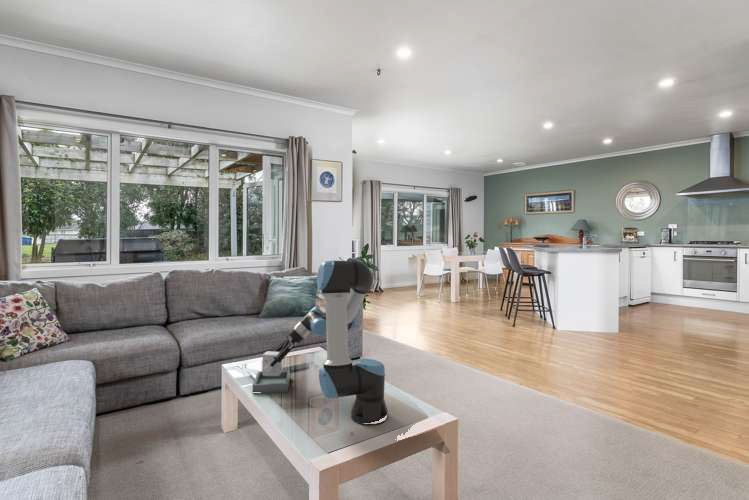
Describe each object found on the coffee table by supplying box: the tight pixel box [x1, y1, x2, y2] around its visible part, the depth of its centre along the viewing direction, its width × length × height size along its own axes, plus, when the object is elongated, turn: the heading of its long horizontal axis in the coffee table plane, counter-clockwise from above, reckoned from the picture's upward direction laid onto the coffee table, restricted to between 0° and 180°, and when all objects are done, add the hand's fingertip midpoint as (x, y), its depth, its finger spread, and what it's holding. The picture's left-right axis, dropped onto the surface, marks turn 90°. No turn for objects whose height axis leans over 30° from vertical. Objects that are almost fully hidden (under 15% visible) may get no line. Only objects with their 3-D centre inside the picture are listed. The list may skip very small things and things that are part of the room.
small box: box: [262, 350, 283, 376], centre depth 193 cm, size 8×6×10 cm
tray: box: [252, 370, 291, 394], centre depth 193 cm, size 18×16×4 cm
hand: (265, 367), depth 192 cm, fingers closed on small box, 8 cm apart
